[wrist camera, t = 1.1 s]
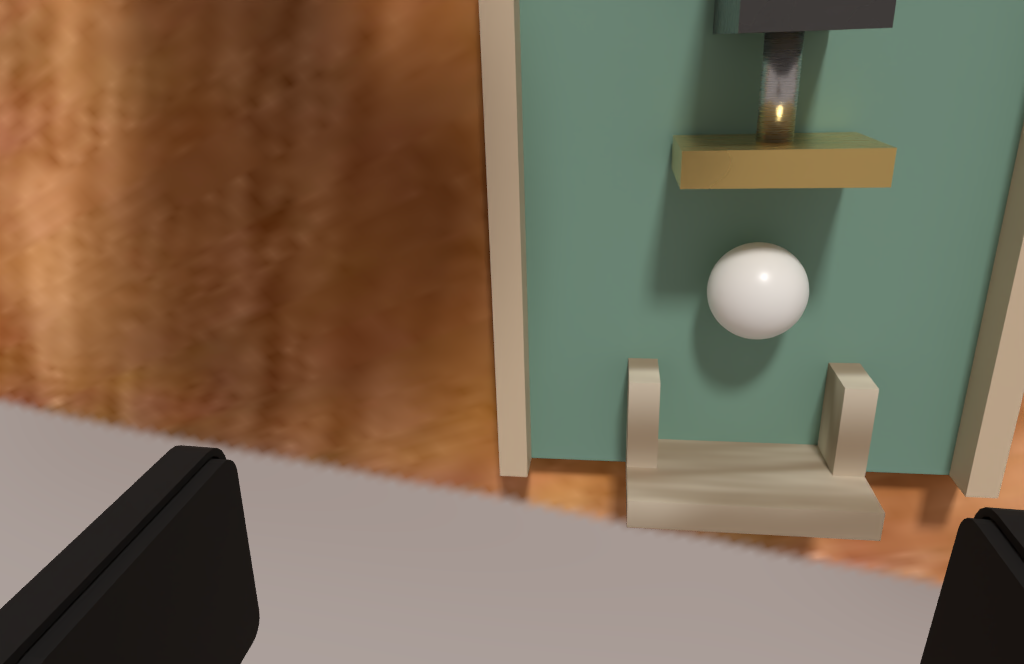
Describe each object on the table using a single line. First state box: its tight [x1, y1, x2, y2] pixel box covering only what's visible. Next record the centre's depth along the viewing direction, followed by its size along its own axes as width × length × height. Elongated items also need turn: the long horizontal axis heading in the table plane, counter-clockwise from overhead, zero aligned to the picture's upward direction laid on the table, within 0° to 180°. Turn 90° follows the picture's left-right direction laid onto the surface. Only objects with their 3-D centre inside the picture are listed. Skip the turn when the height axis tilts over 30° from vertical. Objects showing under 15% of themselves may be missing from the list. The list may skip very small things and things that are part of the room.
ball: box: [707, 242, 809, 340], centre depth 27 cm, size 4×4×4 cm
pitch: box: [479, 0, 1024, 498], centre depth 28 cm, size 22×20×3 cm
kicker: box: [672, 0, 897, 189], centre depth 23 cm, size 9×6×6 cm
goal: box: [626, 358, 885, 541], centre depth 29 cm, size 5×9×5 cm, turn 92°
